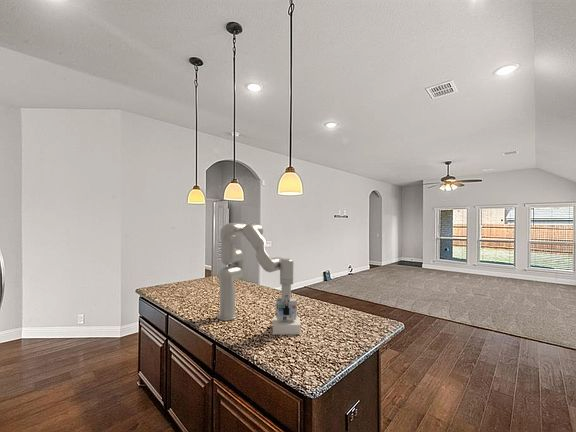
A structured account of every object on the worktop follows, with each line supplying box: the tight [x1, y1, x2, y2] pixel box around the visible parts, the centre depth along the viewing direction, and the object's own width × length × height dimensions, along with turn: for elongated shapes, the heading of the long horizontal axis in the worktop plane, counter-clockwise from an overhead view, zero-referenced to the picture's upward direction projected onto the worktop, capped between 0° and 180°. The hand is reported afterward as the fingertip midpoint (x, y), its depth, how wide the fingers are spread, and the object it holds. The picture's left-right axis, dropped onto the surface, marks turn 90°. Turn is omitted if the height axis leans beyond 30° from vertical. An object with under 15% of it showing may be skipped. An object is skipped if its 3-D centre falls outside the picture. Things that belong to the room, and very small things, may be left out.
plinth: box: [272, 316, 301, 335], centre depth 157 cm, size 13×15×5 cm
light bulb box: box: [275, 297, 298, 321], centre depth 157 cm, size 11×7×11 cm, turn 105°
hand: (286, 312), depth 157 cm, fingers closed on light bulb box, 7 cm apart
